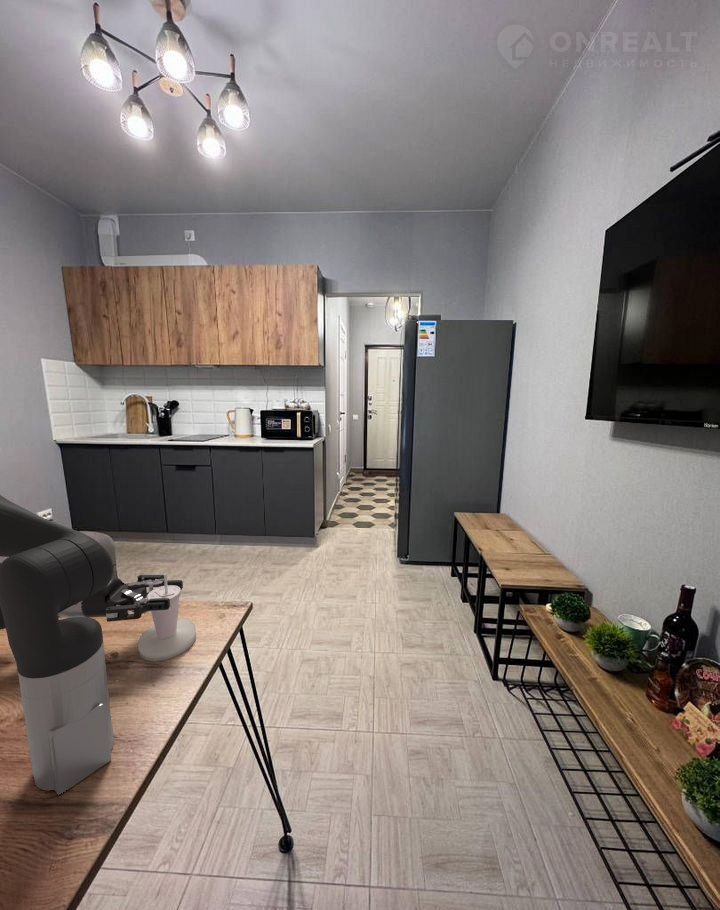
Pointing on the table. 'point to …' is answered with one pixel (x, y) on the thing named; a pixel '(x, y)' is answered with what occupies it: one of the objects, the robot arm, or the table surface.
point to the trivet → (167, 642)
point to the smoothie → (166, 618)
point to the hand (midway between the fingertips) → (175, 593)
